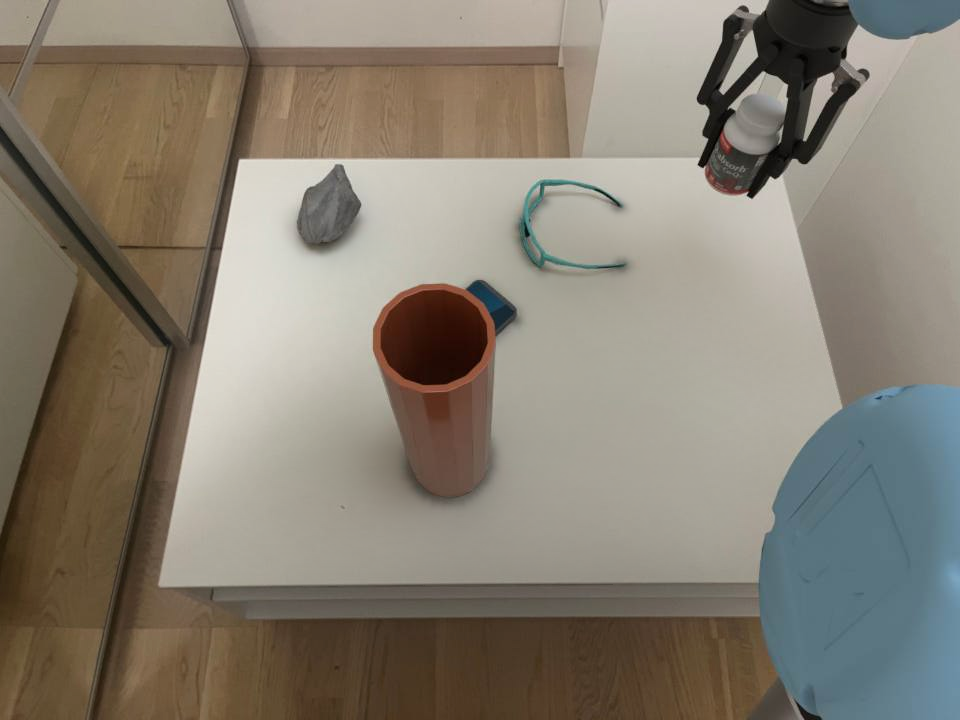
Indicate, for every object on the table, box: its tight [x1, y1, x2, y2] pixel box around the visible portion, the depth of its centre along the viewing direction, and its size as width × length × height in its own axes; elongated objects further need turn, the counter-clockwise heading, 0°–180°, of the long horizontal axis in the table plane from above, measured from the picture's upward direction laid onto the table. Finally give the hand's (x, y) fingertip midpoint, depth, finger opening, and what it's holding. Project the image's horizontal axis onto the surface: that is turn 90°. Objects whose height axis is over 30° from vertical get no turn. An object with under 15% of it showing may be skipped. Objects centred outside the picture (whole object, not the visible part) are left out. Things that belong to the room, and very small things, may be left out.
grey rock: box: [296, 163, 362, 245], centre depth 90 cm, size 11×9×8 cm
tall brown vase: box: [372, 282, 497, 498], centre depth 65 cm, size 9×9×32 cm
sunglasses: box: [519, 179, 628, 270], centre depth 91 cm, size 14×15×5 cm
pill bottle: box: [704, 92, 787, 197], centre depth 70 cm, size 6×6×10 cm
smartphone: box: [464, 279, 518, 337], centre depth 86 cm, size 8×15×1 cm, turn 135°
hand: (731, 174), depth 74 cm, fingers closed on pill bottle, 6 cm apart
